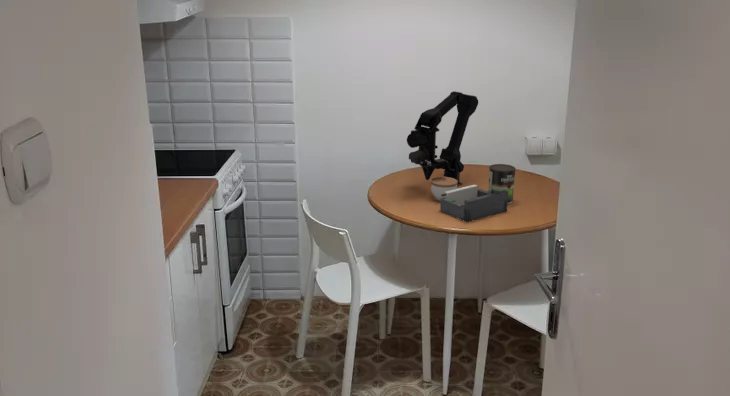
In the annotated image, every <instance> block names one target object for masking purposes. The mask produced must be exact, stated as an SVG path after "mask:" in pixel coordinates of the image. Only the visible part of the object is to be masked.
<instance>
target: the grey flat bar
mask: <svg viewBox="0 0 730 396" xmlns="http://www.w3.org/2000/svg"><path fill="white" fill-rule="evenodd" d="M478 189H479V185H477V184H471V185H467V186H464V187H457V189H454V190H450V191H446V192H444V194H442V195H441V196H444V197H446V198H448V199H452V200H454V201H456V202H458V203H461V204H463V205H464V201H465V200H468V199H472V198H476V197H477V192H478Z"/></svg>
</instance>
